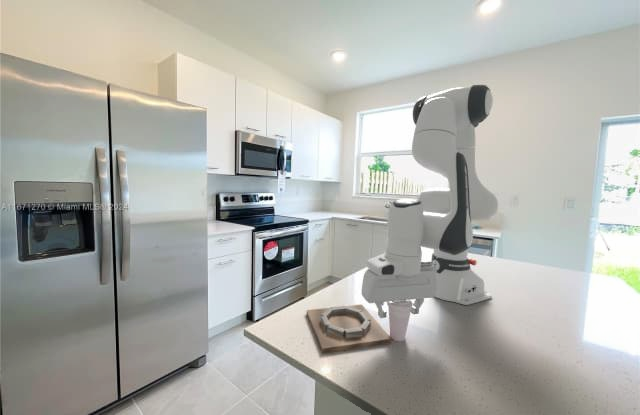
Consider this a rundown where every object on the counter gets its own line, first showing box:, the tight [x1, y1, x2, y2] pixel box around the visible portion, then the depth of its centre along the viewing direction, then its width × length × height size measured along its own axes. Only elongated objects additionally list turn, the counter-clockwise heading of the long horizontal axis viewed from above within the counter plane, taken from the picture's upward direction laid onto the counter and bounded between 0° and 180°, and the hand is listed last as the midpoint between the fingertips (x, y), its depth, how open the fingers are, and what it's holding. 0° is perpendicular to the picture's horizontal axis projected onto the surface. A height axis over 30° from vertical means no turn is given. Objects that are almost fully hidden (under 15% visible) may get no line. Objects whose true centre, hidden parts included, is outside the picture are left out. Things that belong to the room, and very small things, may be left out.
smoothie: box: [386, 300, 414, 342], centre depth 66 cm, size 6×6×14 cm
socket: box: [306, 304, 393, 354], centre depth 70 cm, size 18×18×3 cm
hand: (398, 314), depth 66 cm, fingers open, 8 cm apart
